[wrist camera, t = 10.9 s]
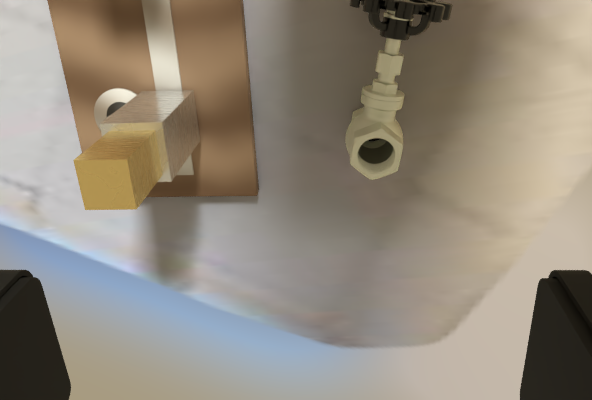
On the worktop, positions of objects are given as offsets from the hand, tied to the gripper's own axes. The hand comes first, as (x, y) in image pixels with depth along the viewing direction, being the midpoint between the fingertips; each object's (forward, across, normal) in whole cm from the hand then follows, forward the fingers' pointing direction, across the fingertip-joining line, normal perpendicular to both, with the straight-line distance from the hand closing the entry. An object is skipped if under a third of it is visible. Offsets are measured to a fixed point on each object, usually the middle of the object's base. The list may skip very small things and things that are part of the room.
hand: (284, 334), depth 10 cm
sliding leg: (+32, +13, +5) cm, 35 cm away
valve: (+34, -4, +3) cm, 34 cm away
